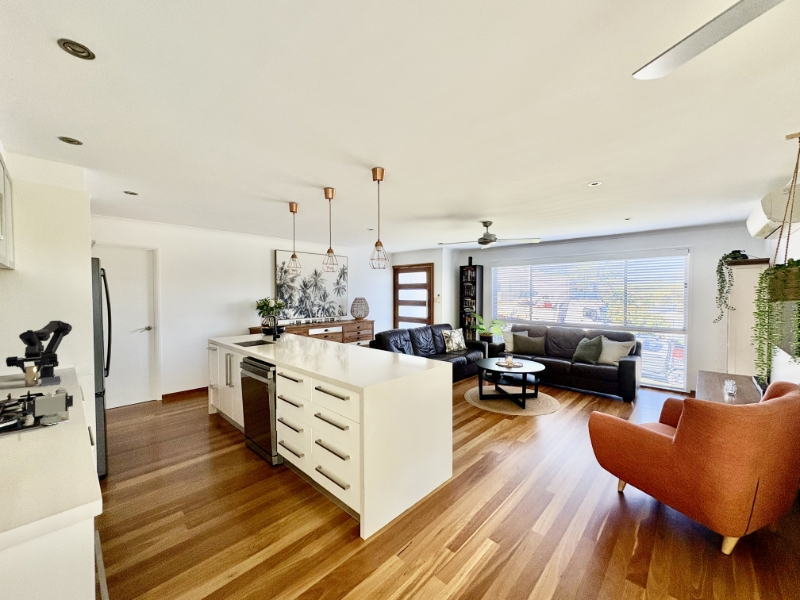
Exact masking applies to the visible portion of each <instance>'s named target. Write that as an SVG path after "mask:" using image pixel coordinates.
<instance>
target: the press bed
mask: <svg viewBox="0 0 800 600" xmlns="http://www.w3.org/2000/svg"><path fill="white" fill-rule="evenodd" d="M40 380H41V381H40V383H41V385H40V386H42V387H47V386H48V385H50V386H55V385H60V384H61V383H62V378H61V376H60V375H55V377H46V378H40Z"/></svg>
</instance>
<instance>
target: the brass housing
mask: <svg viewBox="0 0 800 600" xmlns="http://www.w3.org/2000/svg"><path fill="white" fill-rule="evenodd" d="M38 378H39V372H38V366H35V365H30V366H25V373H24V386H25V387H30V386H37V385H38V384H39V379H38Z"/></svg>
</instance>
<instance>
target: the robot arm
mask: <svg viewBox="0 0 800 600" xmlns="http://www.w3.org/2000/svg"><path fill="white" fill-rule="evenodd" d="M48 322H49V323H47V324H45V326H43V327H42V328H40V329H38V330H33V329H28V330H26V331H23V332H21V333H20V334H19V335H18V338H19V339H20V340H21V342H22V343H23V344H24V345H26V346H25V348H24V349H25V350H24V357H18V356H17V355H16V356H8V357H6V358H5V364H6V367H7V368H11V367H16V368H20V370H21V371H22V373H23V374H25V367H26V366H25V363H31V362H32V363H34V365H33V366H38V373H39V375H38V378H40V379H41V378H46V377H54V376H56V374H55V373H54V372H55V368H56V367H59V360H58V358H59V357H58V354H57V353H56V352H57V350H58V348H59V346H60V344H61V342H62V340H63V338H64V337H66V336H67V335H69V334H70V333H71V331H72V329H73V326H72V325H71V324H70V323H68V322H65V321H62V320H50V321H48ZM52 333H53V334H52ZM51 334H52V336H51ZM49 339H50V340H49ZM47 341H49V342H48V344H47V345H46V346H45V345H44V344H43V342H47Z"/></svg>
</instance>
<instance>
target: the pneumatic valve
mask: <svg viewBox="0 0 800 600" xmlns="http://www.w3.org/2000/svg"><path fill="white" fill-rule="evenodd" d="M70 407H71V408H72V407H74V395H70V394H69V393H68V392H63V393H62V392H61V393H56V394H54V393H53V392H49V393H48V395H43V396H34V397H33V399H32V400H30V401H27V403H26V414H27V415H29V414H30V415H32V417H33V418H34V417H40V416H42V418H40V421H39V424H40V426H42V425H41V424H49V423H57V422H58V423H59V422H61V421H62V414H61V415H60V414H58V413H62V412H68V410H69V409H70Z"/></svg>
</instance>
